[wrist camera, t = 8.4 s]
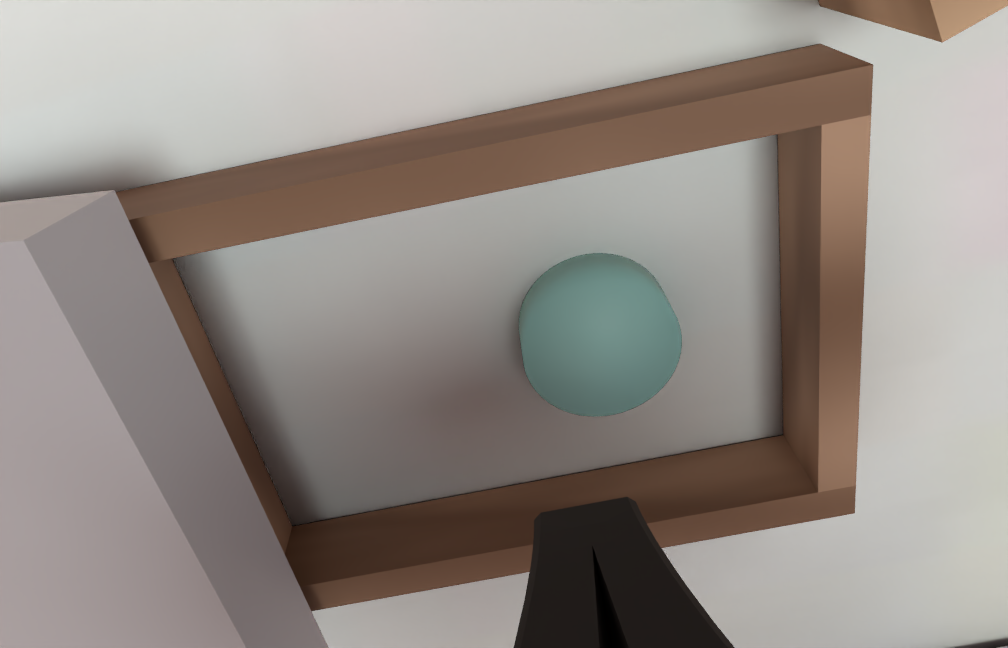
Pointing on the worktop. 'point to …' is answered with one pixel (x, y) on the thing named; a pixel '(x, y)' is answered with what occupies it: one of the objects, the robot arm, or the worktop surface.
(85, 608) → the lid
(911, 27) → the beech block
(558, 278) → the teal disc
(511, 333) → the worktop surface
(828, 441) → the frame
